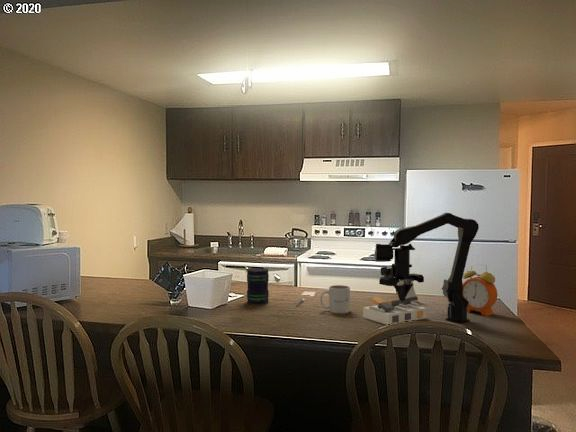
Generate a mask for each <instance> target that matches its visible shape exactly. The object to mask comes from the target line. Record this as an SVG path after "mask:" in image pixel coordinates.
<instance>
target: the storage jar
mask: <svg viewBox="0 0 576 432" xmlns="http://www.w3.org/2000/svg"><path fill="white" fill-rule="evenodd" d="M269 278H270V275H269V269H268V268H263V267H254V268H253V267H251V268H247V269H246V282H247V290H246V299H247V301H246V303H247V304H248V305H252V304H253V305H255V306H259V305H260V306H261V305H262V306H263V305H268V304H269V297H270V296H269V295H270V294H269V280H270V279H269Z"/></svg>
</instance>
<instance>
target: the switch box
mask: <svg viewBox="0 0 576 432" xmlns="http://www.w3.org/2000/svg"><path fill="white" fill-rule="evenodd" d="M362 311H363V312H362V314H363V315H362V317H363V319H367V320H370V321H373V322H377V323H379V324H383V325H387V326H389V325H388V324H391V323H397V322H403V321H408V322H413V321H412V320H414V321H418V320H424V319H427V318H426V317H427V308H426V307H424V306H420V303H418V302H417V303H413V302H411V304H408V305H403V303H402V304H399V306H395V307H394V309H393V311H387V312H386V311H385V310H383V309H382V308H381V309H380V308H378V306H377V305H376V304H375V305H369V306H364V307H363V310H362ZM403 323H404V322H403Z"/></svg>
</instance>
